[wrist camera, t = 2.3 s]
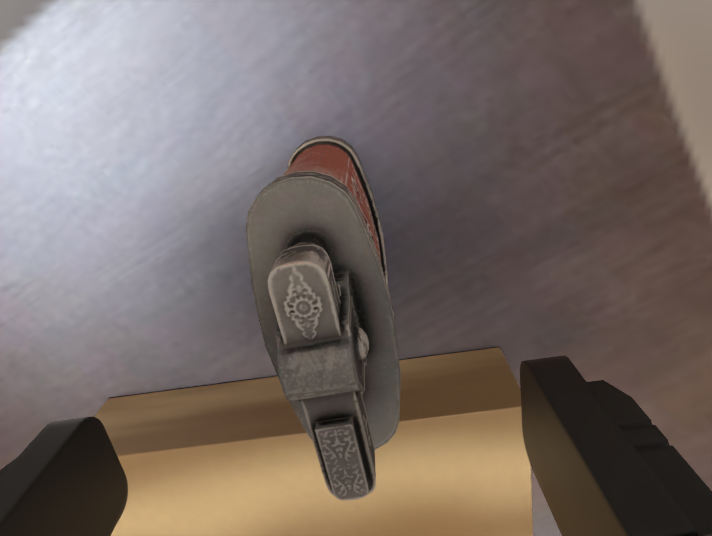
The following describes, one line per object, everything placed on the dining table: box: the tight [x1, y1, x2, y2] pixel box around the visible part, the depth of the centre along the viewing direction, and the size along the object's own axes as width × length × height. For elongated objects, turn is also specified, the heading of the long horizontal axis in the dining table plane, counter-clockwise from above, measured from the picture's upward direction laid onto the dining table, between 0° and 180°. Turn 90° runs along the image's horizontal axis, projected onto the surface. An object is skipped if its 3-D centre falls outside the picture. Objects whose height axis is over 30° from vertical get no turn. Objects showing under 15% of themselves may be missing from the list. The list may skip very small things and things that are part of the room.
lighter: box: [246, 136, 401, 501], centre depth 14 cm, size 8×3×10 cm, turn 11°
